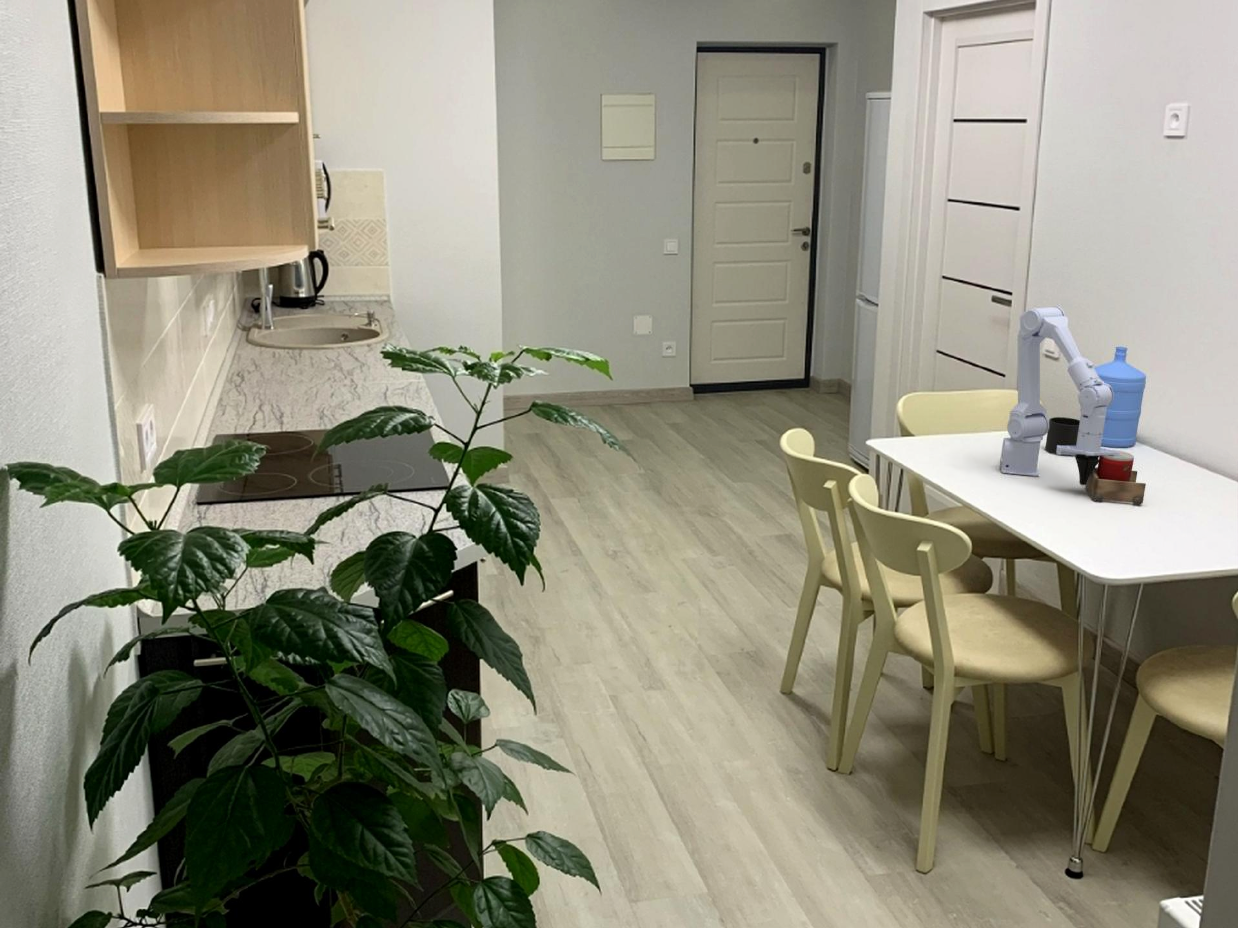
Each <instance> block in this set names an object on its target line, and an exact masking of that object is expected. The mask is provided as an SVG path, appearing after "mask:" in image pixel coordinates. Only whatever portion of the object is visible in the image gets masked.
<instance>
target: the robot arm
mask: <svg viewBox="0 0 1238 928" xmlns="http://www.w3.org/2000/svg"><path fill="white" fill-rule="evenodd" d="M1019 323H1020V325H1019V331H1018V334H1017V404H1016V405H1014V406H1013V408H1012V409H1011V410H1009V418H1008V419H1009V420H1008V421H1007V425H1006V428H1007V433H1008V435H1009V436H1010V437H1004V438H1003V440H1002V444H1001V445H1002V446H1001V455H1000V459H999V468H1000V471H1001V473H1002V474H1008V475H1009V474H1010V475H1020V476H1031V477H1040V472H1039V471H1038V463H1039V454H1040V448H1041V441H1043V438H1044V437H1045V436H1047V432H1048V430H1049V418H1048V416H1047V408H1045V406H1044V405H1043V404H1041V390H1040V389H1041V377H1040V376H1041V373H1040V372H1041V365H1040V364H1041V360H1040V359H1041V357H1040V355H1041V353H1040V351H1041V346H1040V344H1041V343H1042V342H1043V341H1044V340H1045V339H1046V338H1047V339H1050V340H1052V341H1053V342H1054V344H1055V345H1056V347H1057V348H1058V349H1059V350H1060V353H1061V354H1062V356H1063V357H1064V359H1065V360H1066V362H1067V364H1068V367H1067V373H1068V375H1069V376H1070V378H1071V380H1072V381H1073V383H1074V386H1075V387H1076V388H1077V390H1078V392H1079V394H1077V400H1078V403H1079V405H1080V406H1079V407H1080V409H1079V412H1080V418H1079V420H1080V424H1079V430H1078V437H1077V444H1076V446H1060V445H1057V450H1056V453H1057V456H1060V455H1062V454H1065V455H1075V456H1074V458H1075V461H1076V464H1077V469H1078V476H1079V477H1078V478H1079V484H1080V486H1085V485H1086V483H1087V480H1088V478H1089V476H1090V474H1091V472H1092V471H1093V469H1094V468H1095V467H1097V466H1098V462H1099V458H1100V455H1113V456H1119V452H1118V451H1119V450H1117V449H1116V450H1117V451H1116V450H1115V449H1108V448H1102V446H1101V442H1102V435H1103V429H1104V423H1105V416H1106V410H1107V406H1109V405H1110V404H1111V403H1112V401H1113V399H1114V393H1113V390H1112V387H1111V386H1110V385H1108V384H1106V383H1104V382H1103V381H1102V380H1101V379H1100V378H1099V376H1098V374H1097V373H1096V371H1095V369H1094V367H1095V366H1094V363H1093V361H1090V360H1091V359H1089V358H1085V357H1083V356H1082V354H1081V353H1080V350H1079V348H1078V346H1077V343H1076V341H1075V339H1074V337H1073V334H1072V333H1071V331H1070V329H1069V318H1068V317H1067V315H1066V313H1065V311H1064V309H1062V307H1060V306H1051V307H1050V306H1049V307H1030V308H1028V309H1027V310H1025V311H1024V312H1023V313H1022V314H1021V315H1020V316H1019Z"/></svg>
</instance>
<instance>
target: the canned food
mask: <svg viewBox="0 0 1238 928" xmlns="http://www.w3.org/2000/svg"><path fill="white" fill-rule="evenodd" d="M1116 451H1118V452H1119V456H1113V455H1100V458H1098V459H1099V462H1098V464H1097V467H1098V469H1097V476H1098V477H1099V479H1104V480H1114V481H1125V482H1130V479H1131V473H1132V471H1133V468H1134V467H1133V466H1134V461H1135V459H1134V458H1135V456H1134V455H1133V454H1132V453H1129V452H1126V451H1122V450H1117V449H1116Z"/></svg>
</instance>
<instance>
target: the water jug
mask: <svg viewBox="0 0 1238 928" xmlns="http://www.w3.org/2000/svg"><path fill="white" fill-rule="evenodd" d="M1127 351H1128V348H1127V347H1123V346H1116V347H1115V353H1114V358H1113V360H1112V361H1110V362H1106V363H1103V364H1100V365H1098V366H1093V367H1094V369H1095V371H1096V373H1097V374H1098V376H1099V378H1100V379H1101V380H1102V381H1103V382H1104V383H1106V384H1108V385H1110V386H1111V387H1112V390H1113V393H1114V399H1113V401H1112V403H1111V404H1110V405H1109V406H1107V410H1106V416H1105V423H1104V429H1103V435H1102V442H1101V447H1105V448H1117V449H1119V448H1120V449H1121V448H1130V447H1132V446H1134V445H1135V444H1136V442H1137V438H1138V436H1137V435H1138V427H1139V421H1140V417H1141V414H1142V404H1143V399H1144V392H1145V388H1146V382H1147V381H1146V380H1147V376H1146V374H1145V373H1144V372H1142V371H1141V370H1139V369H1138V368H1136V367H1134V366H1133V365H1131V364H1129V363H1127V361H1126V359H1127V355H1128V354H1127Z"/></svg>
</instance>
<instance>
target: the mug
mask: <svg viewBox="0 0 1238 928" xmlns="http://www.w3.org/2000/svg"><path fill="white" fill-rule="evenodd" d="M1048 421H1049V430H1048V432H1047V434H1046V441H1045V447H1044V448H1045V451H1046V452H1047V453H1049V454H1053V455H1055V456H1056V455H1057V453H1056V450H1057V445H1060V446H1076V444H1077V437H1078V430H1079V424H1080V419H1076V418H1071V417H1064V416H1062V417H1060V416H1055V417H1051V418H1048ZM1057 456H1058V455H1057ZM1059 456H1062V457H1075V455H1065V454H1062V455H1059Z"/></svg>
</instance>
